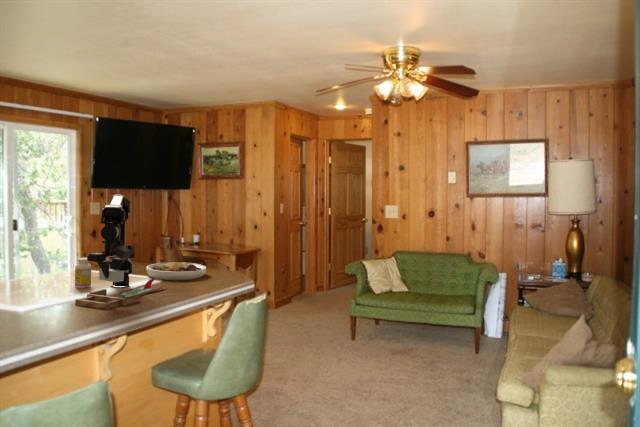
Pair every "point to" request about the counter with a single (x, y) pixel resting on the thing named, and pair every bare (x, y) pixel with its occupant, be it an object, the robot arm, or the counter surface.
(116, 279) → the matte grey rectangular prism
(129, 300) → the jig
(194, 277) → the bowl
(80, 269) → the supplement bottle
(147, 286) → the toy spaceship
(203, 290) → the counter surface
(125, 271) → the robot arm
